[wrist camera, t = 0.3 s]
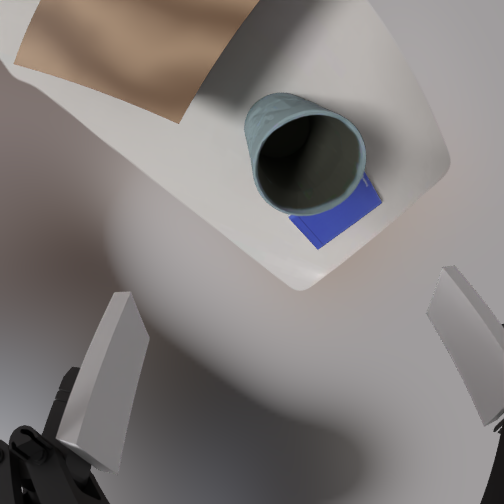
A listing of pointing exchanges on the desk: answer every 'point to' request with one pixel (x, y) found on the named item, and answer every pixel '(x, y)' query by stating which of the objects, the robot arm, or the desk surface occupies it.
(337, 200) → the teal plant pot
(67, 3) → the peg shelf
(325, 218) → the hard drive
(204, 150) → the desk surface
